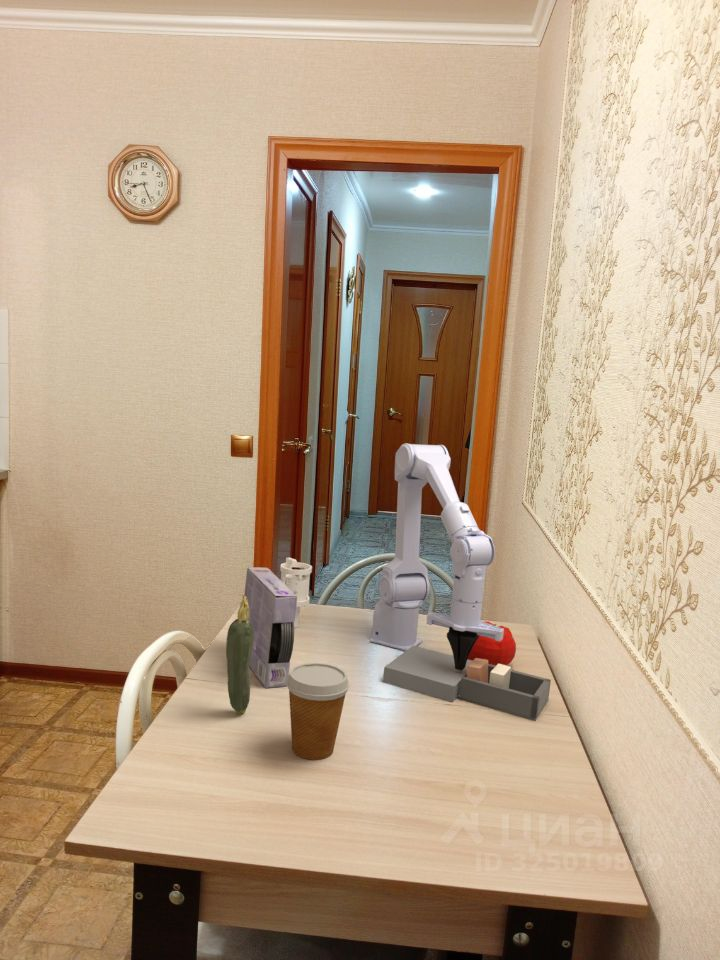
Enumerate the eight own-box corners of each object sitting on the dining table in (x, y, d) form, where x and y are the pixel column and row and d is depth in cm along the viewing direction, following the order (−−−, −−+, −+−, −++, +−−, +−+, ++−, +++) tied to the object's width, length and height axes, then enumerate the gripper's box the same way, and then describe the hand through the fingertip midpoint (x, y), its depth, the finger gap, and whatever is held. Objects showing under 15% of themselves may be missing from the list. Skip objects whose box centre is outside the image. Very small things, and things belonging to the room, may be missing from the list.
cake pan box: (292, 689, 129) (299, 594, 126) (266, 692, 126) (272, 595, 124) (261, 649, 146) (267, 565, 143) (237, 651, 144) (242, 566, 141)
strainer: (296, 618, 166) (301, 555, 164) (313, 628, 161) (318, 563, 159) (270, 622, 162) (274, 558, 160) (287, 632, 156) (292, 566, 154)
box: (459, 698, 130) (461, 678, 130) (476, 680, 139) (478, 661, 138) (535, 720, 124) (538, 698, 123) (548, 700, 133) (550, 679, 132)
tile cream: (490, 672, 130) (503, 675, 128) (498, 663, 134) (511, 666, 133) (487, 698, 130) (500, 701, 129) (495, 688, 135) (508, 692, 134)
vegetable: (243, 722, 114) (250, 602, 112) (217, 718, 115) (224, 599, 113) (252, 711, 119) (260, 595, 116) (228, 706, 120) (235, 591, 117)
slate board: (382, 681, 135) (384, 666, 134) (411, 659, 147) (413, 645, 147) (452, 702, 128) (454, 686, 128) (477, 676, 141) (478, 662, 140)
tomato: (518, 678, 142) (523, 636, 141) (463, 673, 142) (467, 631, 141) (508, 658, 152) (512, 619, 151) (457, 653, 152) (461, 614, 151)
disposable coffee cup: (347, 737, 112) (353, 665, 111) (339, 769, 103) (346, 691, 101) (288, 730, 113) (293, 658, 112) (275, 761, 104) (280, 683, 102)
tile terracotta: (467, 666, 131) (480, 668, 130) (475, 658, 136) (488, 659, 135) (466, 692, 132) (479, 694, 131) (475, 683, 136) (488, 685, 135)
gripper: (423, 595, 133) (416, 665, 134) (499, 612, 126) (490, 685, 128) (437, 587, 139) (430, 654, 141) (509, 603, 132) (502, 672, 134)
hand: (460, 668), depth 135 cm, fingers closed
